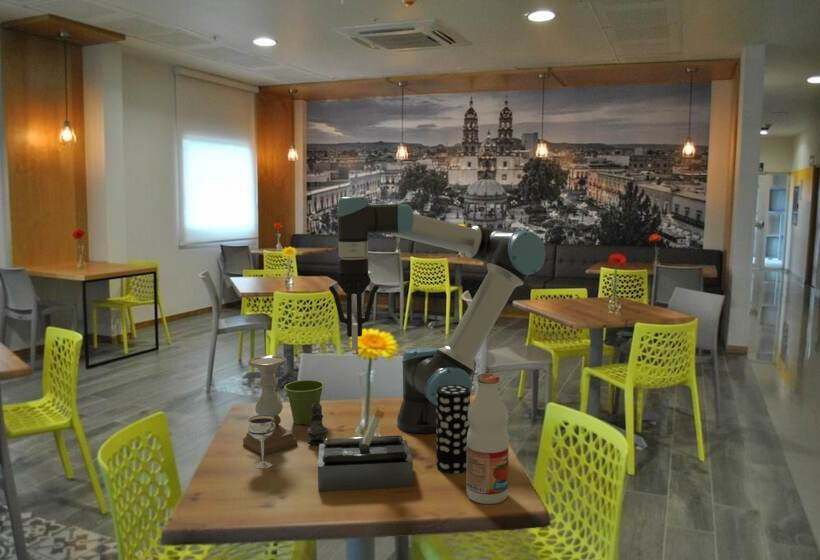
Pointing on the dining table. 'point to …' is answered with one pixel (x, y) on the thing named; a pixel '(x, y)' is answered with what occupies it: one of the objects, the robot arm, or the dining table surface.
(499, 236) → the robot arm
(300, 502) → the dining table surface
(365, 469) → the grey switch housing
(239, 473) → the dining table surface
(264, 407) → the candle holder
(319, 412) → the salt shaker
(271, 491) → the dining table surface
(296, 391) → the plant pot
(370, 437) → the breaker lever
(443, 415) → the spotted tube
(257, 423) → the wineglass
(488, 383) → the fruit juice
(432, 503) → the dining table surface
